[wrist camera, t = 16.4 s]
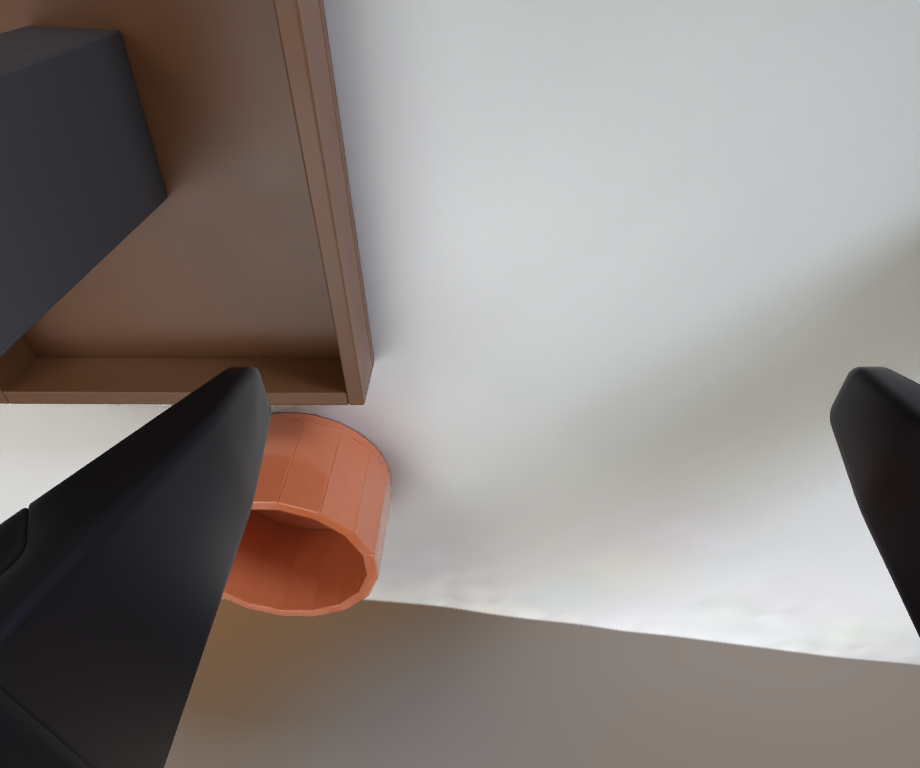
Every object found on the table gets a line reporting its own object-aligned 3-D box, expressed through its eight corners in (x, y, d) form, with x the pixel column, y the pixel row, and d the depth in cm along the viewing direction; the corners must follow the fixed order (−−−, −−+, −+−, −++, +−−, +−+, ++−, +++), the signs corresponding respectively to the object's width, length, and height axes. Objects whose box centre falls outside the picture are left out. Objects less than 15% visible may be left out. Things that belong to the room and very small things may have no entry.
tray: (266, -399, 12) (220, -462, 10) (374, 361, 24) (364, 405, 22) (-400, -367, 12) (-578, -421, 10) (35, 361, 25) (-6, 403, 23)
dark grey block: (121, 29, 16) (-147, 126, 9) (169, 198, 19) (-8, 365, 12) (16, 24, 16) (-330, 117, 9) (80, 193, 19) (-145, 358, 12)
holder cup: (382, 412, 26) (364, 503, 22) (398, 528, 31) (386, 617, 27) (197, 411, 26) (148, 500, 22) (244, 526, 31) (211, 614, 28)
